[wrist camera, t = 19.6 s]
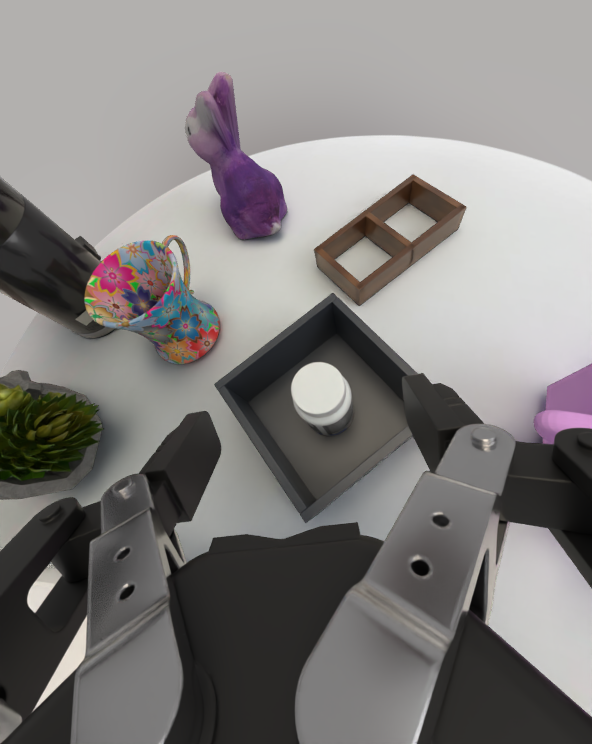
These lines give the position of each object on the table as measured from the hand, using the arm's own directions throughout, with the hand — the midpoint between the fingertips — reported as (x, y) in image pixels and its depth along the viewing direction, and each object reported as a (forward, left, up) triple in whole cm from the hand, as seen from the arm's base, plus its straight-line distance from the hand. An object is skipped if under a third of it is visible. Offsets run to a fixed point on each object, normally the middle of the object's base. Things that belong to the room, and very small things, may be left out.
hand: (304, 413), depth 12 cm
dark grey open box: (-4, +2, -18) cm, 18 cm away
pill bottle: (-3, +2, -17) cm, 18 cm away
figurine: (-32, +11, -18) cm, 38 cm away
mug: (-23, -4, -18) cm, 29 cm away
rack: (-15, +20, -18) cm, 30 cm away
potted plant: (-20, -22, -18) cm, 34 cm away
